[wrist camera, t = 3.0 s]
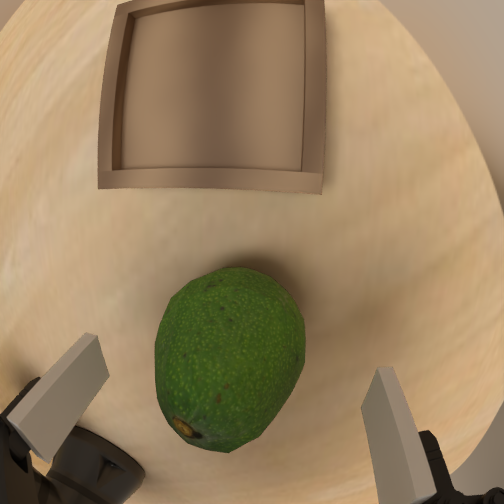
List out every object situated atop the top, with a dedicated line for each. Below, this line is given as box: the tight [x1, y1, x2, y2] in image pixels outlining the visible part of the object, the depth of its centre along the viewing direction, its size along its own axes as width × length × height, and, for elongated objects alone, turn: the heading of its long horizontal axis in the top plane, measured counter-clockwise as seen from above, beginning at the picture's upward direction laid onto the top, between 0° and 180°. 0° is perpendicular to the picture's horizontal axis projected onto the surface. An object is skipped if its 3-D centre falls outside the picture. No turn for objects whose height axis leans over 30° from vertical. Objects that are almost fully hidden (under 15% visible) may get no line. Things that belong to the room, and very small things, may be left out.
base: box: [98, 0, 326, 195], centre depth 14 cm, size 12×12×4 cm
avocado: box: [155, 267, 306, 453], centre depth 14 cm, size 8×8×12 cm
